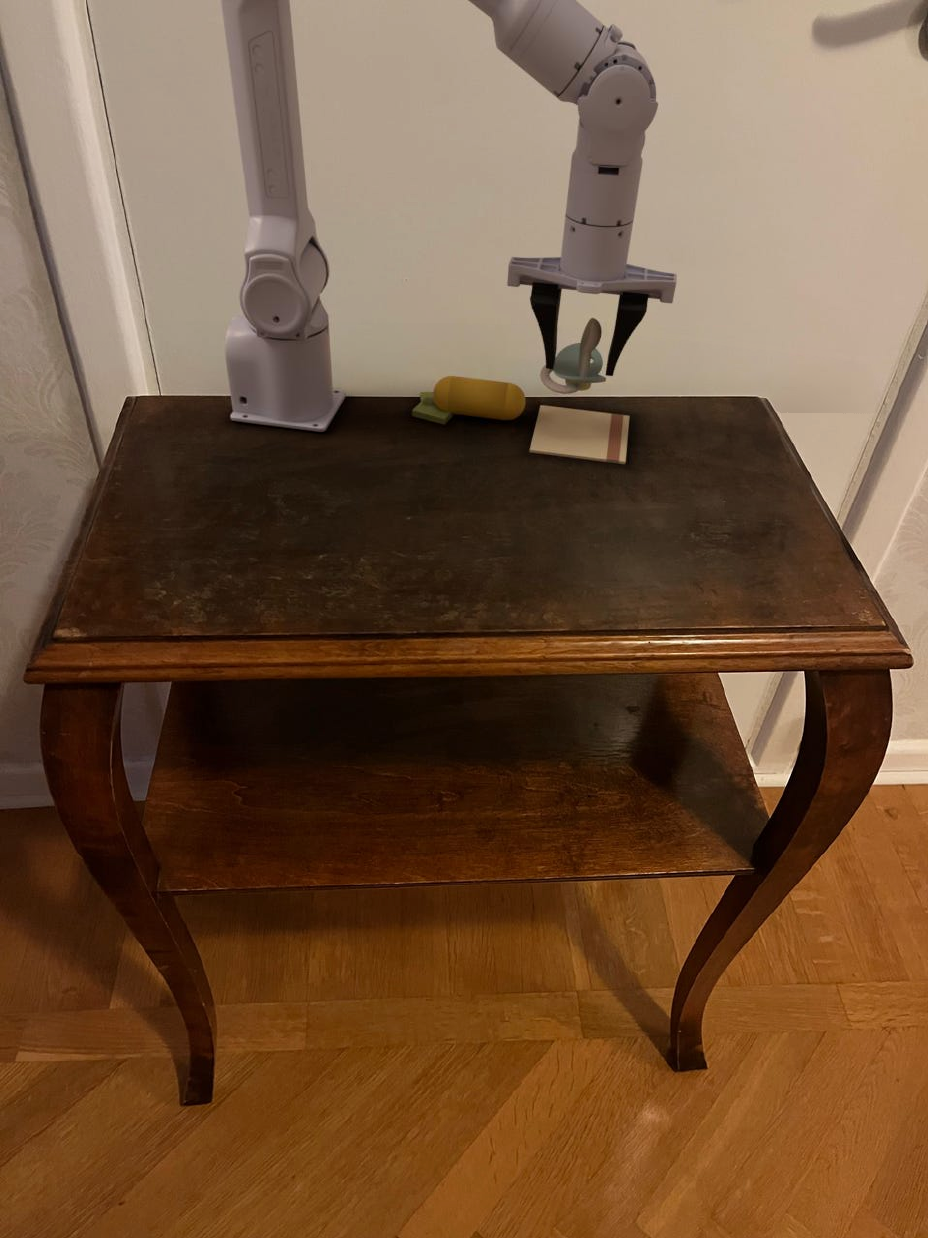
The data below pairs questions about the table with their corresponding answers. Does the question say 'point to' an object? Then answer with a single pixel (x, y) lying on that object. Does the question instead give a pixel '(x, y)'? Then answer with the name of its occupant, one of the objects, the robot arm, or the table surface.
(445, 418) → the corn
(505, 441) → the table surface
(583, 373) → the pacifier
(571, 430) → the towel
